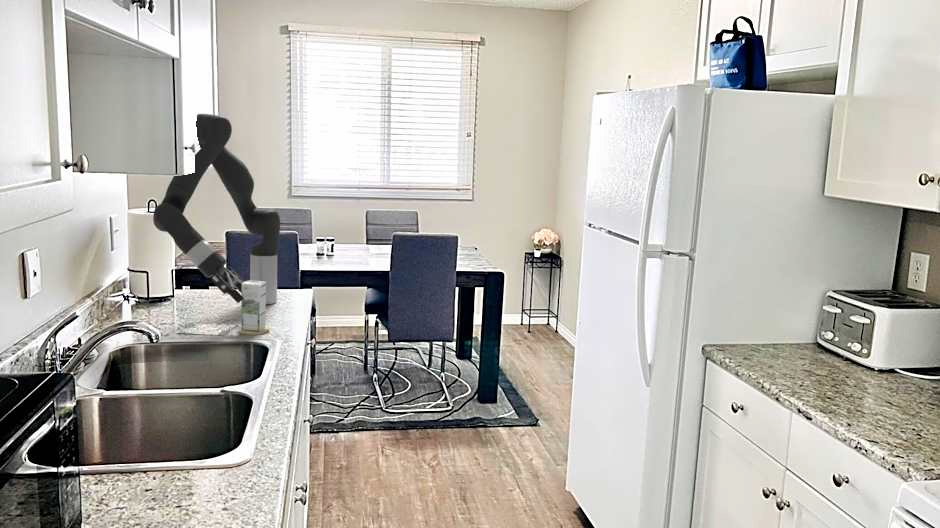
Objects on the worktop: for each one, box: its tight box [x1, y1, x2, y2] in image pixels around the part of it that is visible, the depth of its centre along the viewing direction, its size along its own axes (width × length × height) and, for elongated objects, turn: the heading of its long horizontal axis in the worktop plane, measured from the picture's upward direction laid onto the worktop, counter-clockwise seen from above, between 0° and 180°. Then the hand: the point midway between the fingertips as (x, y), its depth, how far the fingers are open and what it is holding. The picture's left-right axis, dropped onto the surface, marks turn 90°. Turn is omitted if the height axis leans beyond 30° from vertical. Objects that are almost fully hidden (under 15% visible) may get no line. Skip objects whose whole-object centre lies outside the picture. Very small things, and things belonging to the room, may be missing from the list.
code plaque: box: [185, 322, 235, 337], centre depth 221 cm, size 14×14×1 cm
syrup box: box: [241, 279, 267, 331], centre depth 220 cm, size 6×6×14 cm
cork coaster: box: [237, 326, 270, 336], centre depth 221 cm, size 9×9×1 cm
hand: (245, 298), depth 220 cm, fingers open, 8 cm apart
